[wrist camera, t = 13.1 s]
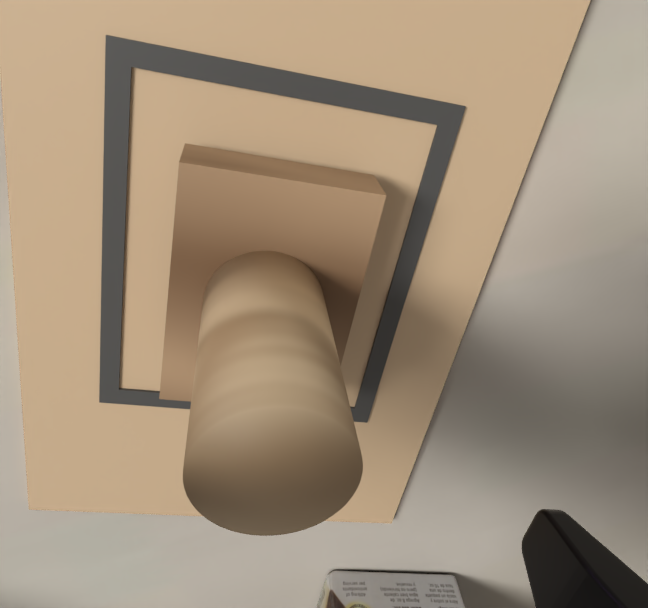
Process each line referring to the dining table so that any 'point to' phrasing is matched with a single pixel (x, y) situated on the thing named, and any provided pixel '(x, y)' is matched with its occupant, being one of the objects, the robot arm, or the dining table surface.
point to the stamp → (266, 334)
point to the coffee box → (389, 590)
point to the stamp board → (263, 140)
